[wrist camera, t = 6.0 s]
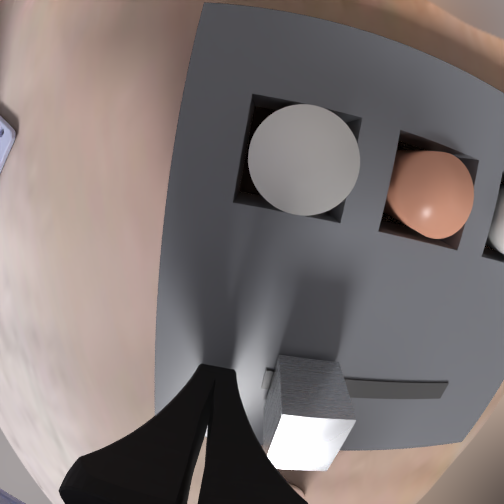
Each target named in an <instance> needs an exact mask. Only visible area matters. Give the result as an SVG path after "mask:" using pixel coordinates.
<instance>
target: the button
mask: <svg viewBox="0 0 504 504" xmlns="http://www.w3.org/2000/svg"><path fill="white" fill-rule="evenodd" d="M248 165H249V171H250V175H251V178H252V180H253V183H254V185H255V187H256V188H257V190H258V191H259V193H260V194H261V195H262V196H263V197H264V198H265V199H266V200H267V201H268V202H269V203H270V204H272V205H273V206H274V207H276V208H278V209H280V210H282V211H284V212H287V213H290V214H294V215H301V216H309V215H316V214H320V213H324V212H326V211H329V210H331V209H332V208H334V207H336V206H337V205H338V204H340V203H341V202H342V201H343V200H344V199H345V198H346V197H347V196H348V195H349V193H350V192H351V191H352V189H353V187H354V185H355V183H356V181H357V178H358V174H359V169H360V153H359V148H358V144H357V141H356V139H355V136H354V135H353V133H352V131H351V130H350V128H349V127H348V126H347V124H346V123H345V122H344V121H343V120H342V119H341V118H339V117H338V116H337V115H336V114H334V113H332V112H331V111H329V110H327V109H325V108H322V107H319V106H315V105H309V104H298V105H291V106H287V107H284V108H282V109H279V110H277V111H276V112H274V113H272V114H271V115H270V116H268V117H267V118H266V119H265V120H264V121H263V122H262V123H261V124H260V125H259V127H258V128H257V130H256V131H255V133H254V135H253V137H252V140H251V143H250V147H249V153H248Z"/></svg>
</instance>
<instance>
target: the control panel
mask: <svg viewBox="0 0 504 504" xmlns="http://www.w3.org/2000/svg"><path fill="white" fill-rule="evenodd" d="M298 104H309V105H315V106H319V107H322V108H325V109H327V110H329V111H331V112H332V113H334V114H336V115H337V116H338V117H339V118H341V119H342V120H343V121H344V122H345V123H346V124H347V126H348V127H349V128H350V130H351V131H352V133H353V135H354V136H355V139H356V141H357V144H358V148H359V153H360V169H359V174H358V178H357V181H356V183H355V185H354V187H353V189H352V191H351V192H350V193H349V195H348V196H347V197H346V198H345V199H344V200H343V201H342V202H341V203H340V204H338V205H337V206H336V207H334V208H332V209H331V210H329V211H326V212H324V213H320V214H316V215H309V216H301V215H294V214H290V213H287V212H284V211H282V210H280V209H278V208H276V207H274V206H273V205H272V204H270V203H269V202H268V201H267V200H266V199H265V198H264V197H263V196H262V195H257V194H251V193H246V192H240V185H241V180H242V174H243V168H244V163H245V157H246V152H247V146H248V141H249V135H250V130H251V124H252V119H253V114H254V108H255V106H256V107H262V108H267V109H273V110H279V109H282V108H284V107H287V106H291V105H298ZM398 141H400V142H403V143H407V144H410V145H413V146H415V147H418V148H421V149H424V150H427V151H438V152H446V153H449V154H452V155H454V156H455V157H457V158H458V159H459V160H460V161H462V163H463V164H464V165H465V166H466V168H467V169H468V171H469V173H470V176H471V178H472V182H473V187H474V201H473V207H472V210H471V213H470V215H469V217H468V219H467V221H466V222H465V224H464V225H463V226H462V228H461V229H460V230H458V231H457V232H456V233H454V234H453V235H451V236H449V237H446V238H442V239H433V238H429V237H426V236H424V235H422V234H420V233H419V232H417V231H415V230H414V229H412V228H410V227H406V226H402V225H398V224H394V223H390V222H386V221H382V220H381V218H382V214H383V210H384V206H385V202H386V198H387V193H388V189H389V185H390V180H391V175H392V171H393V166H394V161H395V156H396V151H397V145H398ZM501 181H503V182H504V93H503V92H501V91H499V90H498V89H496V88H494V87H492V86H491V85H489V84H487V83H485V82H484V81H482V80H480V79H478V78H476V77H474V76H473V75H471V74H469V73H467V72H465V71H463V70H461V69H459V68H457V67H455V66H453V65H451V64H449V63H447V62H444V61H442V60H440V59H438V58H436V57H433V56H431V55H429V54H427V53H424V52H422V51H419V50H417V49H415V48H412V47H410V46H407V45H404V44H402V43H399V42H396V41H394V40H391V39H388V38H385V37H382V36H379V35H376V34H373V33H370V32H367V31H364V30H360V29H357V28H354V27H350V26H347V25H343V24H339V23H336V22H332V21H328V20H323V19H319V18H315V17H310V16H306V15H301V14H296V13H290V12H285V11H279V10H273V9H266V8H259V7H251V6H243V5H233V4H221V3H205V2H204V5H203V9H202V13H201V17H200V20H199V24H198V28H197V33H196V37H195V41H194V45H193V49H192V54H191V58H190V63H189V67H188V72H187V77H186V82H185V87H184V92H183V97H182V102H181V108H180V113H179V119H178V124H177V130H176V136H175V142H174V149H173V155H172V162H171V169H170V176H169V183H168V191H167V199H166V207H165V216H164V225H163V235H162V245H161V256H160V269H159V282H158V297H157V316H156V340H155V415H156V414H158V413H159V412H160V411H161V410H162V409H163V408H164V407H165V406H166V405H167V404H168V403H169V402H170V401H171V400H172V399H173V398H174V397H175V396H176V395H177V394H178V393H179V392H180V391H181V389H182V388H183V387H184V386H185V385H186V383H187V382H188V381H189V380H190V378H191V377H192V375H193V374H194V372H195V371H196V369H197V367H198V366H199V365H200V364H207V365H213V366H218V367H223V368H229V369H234V370H235V371H236V376H237V384H238V389H239V393H240V397H241V400H242V403H243V407H244V410H245V412H246V415H247V418H248V420H249V422H250V425H251V427H252V429H253V431H254V433H255V435H256V437H257V439H258V441H259V443H260V445H263V409H264V405H265V402H266V399H267V395H268V392H269V388H270V385H271V382H272V378H273V375H274V371H275V368H276V364H277V360H278V357H279V355H284V356H292V357H299V358H307V359H315V360H324V361H333V362H339V364H340V367H341V370H342V373H343V376H344V380H345V383H346V386H347V389H348V393H349V396H350V399H351V403H352V406H353V409H354V413H355V416H356V422H355V424H354V425H353V427H352V429H351V431H350V433H349V434H348V436H347V438H346V440H345V441H344V443H343V445H342V446H341V448H340V450H388V449H404V448H416V447H426V446H435V445H443V444H450V443H457V442H462V441H463V440H464V438H465V437H466V436H467V434H468V433H469V432H470V430H471V429H472V428H473V426H474V425H475V423H476V422H477V421H478V419H479V418H480V416H481V415H482V413H483V412H484V410H485V409H486V407H487V406H488V404H489V403H490V401H491V400H492V398H493V396H494V395H495V393H496V392H497V390H498V388H499V387H500V385H501V383H502V382H503V380H504V254H502V253H500V252H498V251H497V250H492V249H488V248H485V244H486V240H487V237H488V233H489V230H490V226H491V222H492V218H493V214H494V210H495V206H496V202H497V197H498V193H499V188H500V183H501ZM207 430H208V427H207ZM207 430H206V433H205V436H204V437H207Z"/></svg>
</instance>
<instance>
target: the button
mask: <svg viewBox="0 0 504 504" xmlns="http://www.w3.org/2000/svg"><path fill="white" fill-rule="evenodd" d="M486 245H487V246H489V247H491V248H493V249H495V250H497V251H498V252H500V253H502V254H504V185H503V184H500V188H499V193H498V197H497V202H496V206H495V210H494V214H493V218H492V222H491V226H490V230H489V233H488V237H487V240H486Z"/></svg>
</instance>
